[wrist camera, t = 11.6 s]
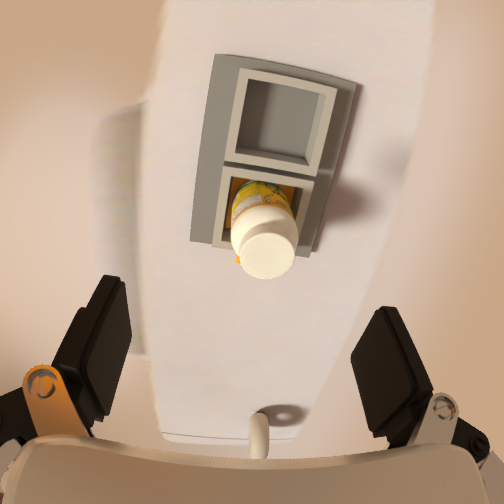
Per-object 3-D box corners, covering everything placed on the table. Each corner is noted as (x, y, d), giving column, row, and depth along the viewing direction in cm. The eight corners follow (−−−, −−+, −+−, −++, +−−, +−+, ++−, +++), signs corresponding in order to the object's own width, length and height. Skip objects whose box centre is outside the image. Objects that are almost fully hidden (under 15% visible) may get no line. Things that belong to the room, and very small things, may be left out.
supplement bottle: (222, 194, 29) (214, 244, 21) (271, 168, 28) (284, 209, 20) (249, 236, 32) (252, 296, 24) (296, 213, 31) (315, 268, 23)
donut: (249, 403, 51) (250, 451, 43) (268, 403, 52) (271, 450, 43) (248, 425, 57) (249, 468, 48) (264, 425, 57) (267, 467, 48)
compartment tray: (216, 54, 24) (211, 50, 20) (352, 83, 25) (369, 85, 21) (191, 235, 33) (184, 257, 30) (307, 251, 35) (314, 274, 31)
